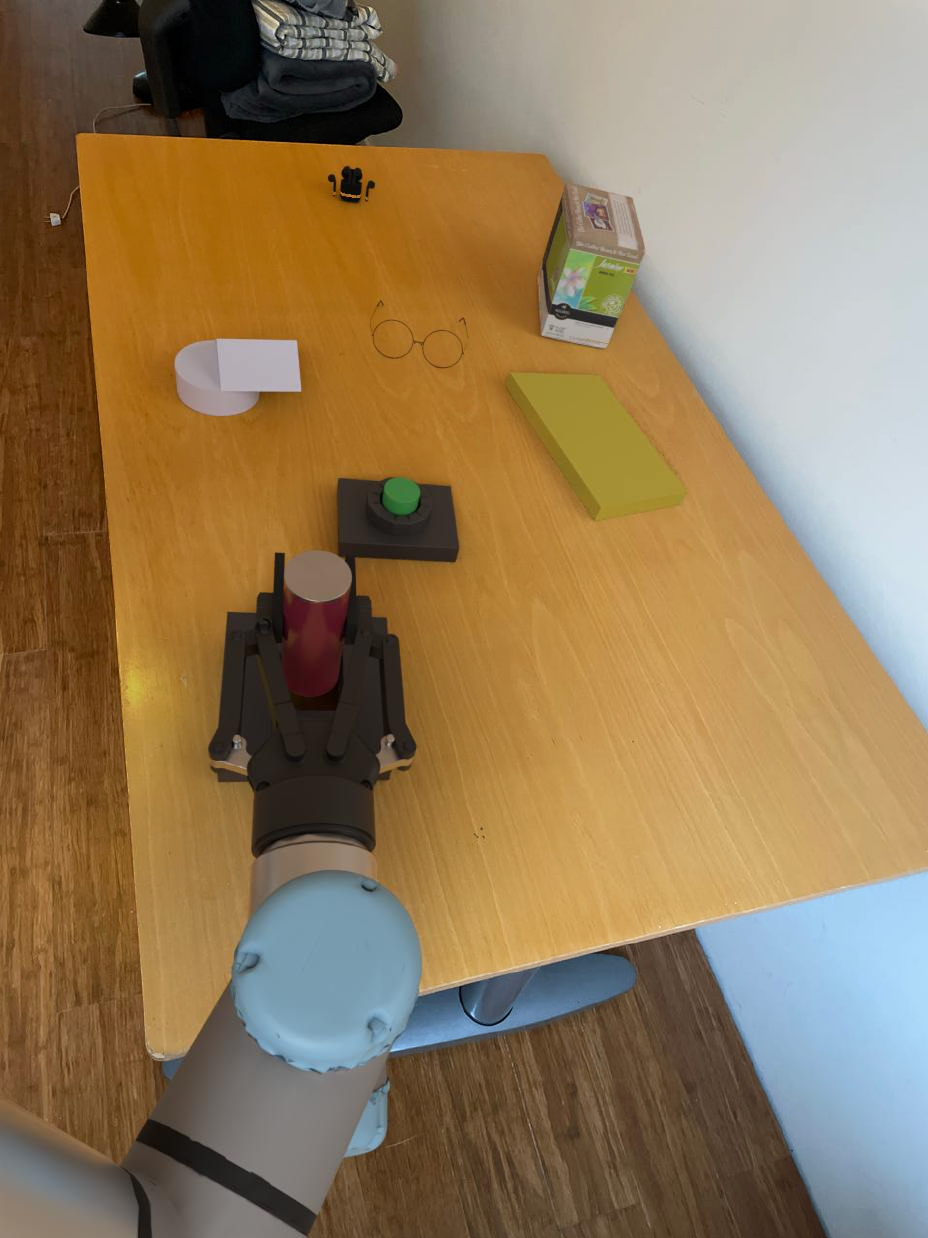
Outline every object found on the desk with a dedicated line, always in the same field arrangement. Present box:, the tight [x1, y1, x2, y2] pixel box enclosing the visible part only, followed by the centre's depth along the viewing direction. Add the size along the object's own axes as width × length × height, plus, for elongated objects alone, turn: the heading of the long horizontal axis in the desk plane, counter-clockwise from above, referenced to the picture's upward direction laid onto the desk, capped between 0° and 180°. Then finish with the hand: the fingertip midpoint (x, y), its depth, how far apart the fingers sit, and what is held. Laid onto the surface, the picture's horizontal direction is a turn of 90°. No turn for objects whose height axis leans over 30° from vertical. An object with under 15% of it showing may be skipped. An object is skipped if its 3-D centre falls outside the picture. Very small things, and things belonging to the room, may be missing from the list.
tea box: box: [536, 182, 646, 349], centre depth 111 cm, size 15×10×15 cm, turn 179°
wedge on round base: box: [174, 338, 302, 417], centre depth 90 cm, size 9×7×13 cm
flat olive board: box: [504, 371, 688, 522], centre depth 99 cm, size 12×2×24 cm
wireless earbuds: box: [327, 165, 376, 204], centre depth 122 cm, size 7×2×5 cm, turn 95°
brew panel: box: [335, 476, 460, 563], centre depth 83 cm, size 12×9×4 cm
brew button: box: [382, 476, 420, 515], centre depth 81 cm, size 4×4×2 cm
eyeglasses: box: [369, 300, 469, 369], centre depth 104 cm, size 11×13×5 cm
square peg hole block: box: [216, 611, 393, 783], centre depth 68 cm, size 14×14×4 cm
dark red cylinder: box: [281, 549, 352, 698], centre depth 61 cm, size 5×5×12 cm
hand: (314, 566), depth 63 cm, fingers closed on dark red cylinder, 5 cm apart
